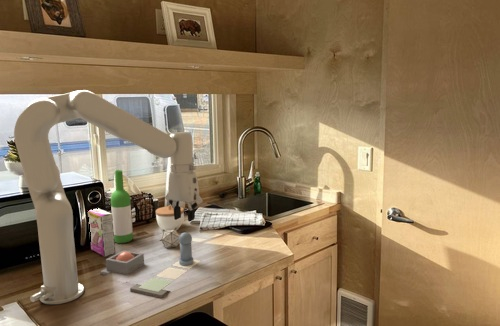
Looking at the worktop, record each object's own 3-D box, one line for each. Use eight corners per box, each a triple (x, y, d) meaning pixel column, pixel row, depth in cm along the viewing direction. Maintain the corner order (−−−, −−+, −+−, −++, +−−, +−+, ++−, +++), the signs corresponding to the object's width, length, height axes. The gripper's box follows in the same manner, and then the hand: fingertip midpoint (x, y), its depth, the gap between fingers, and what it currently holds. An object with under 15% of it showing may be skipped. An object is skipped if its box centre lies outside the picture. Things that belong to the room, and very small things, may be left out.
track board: (161, 298, 125) (161, 294, 125) (130, 291, 130) (130, 287, 130) (208, 263, 150) (208, 260, 150) (180, 258, 155) (180, 255, 155)
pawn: (188, 266, 145) (187, 235, 143) (176, 264, 147) (175, 234, 145) (196, 261, 149) (194, 231, 147) (184, 259, 151) (183, 229, 149)
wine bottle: (114, 245, 170) (109, 173, 165) (113, 239, 177) (107, 169, 172) (134, 242, 173) (129, 171, 168) (132, 236, 180) (127, 168, 175)
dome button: (126, 272, 142) (125, 256, 141) (113, 269, 144) (111, 254, 143) (138, 265, 147) (137, 250, 146) (124, 262, 149) (123, 248, 148)
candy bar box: (90, 250, 165) (86, 210, 162) (101, 246, 168) (98, 207, 166) (104, 257, 157) (100, 215, 154) (116, 253, 161) (113, 212, 158)
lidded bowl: (190, 228, 189) (189, 204, 187) (168, 235, 180) (167, 211, 178) (172, 222, 197) (171, 200, 196) (151, 229, 188) (149, 206, 186)
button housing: (128, 279, 138) (126, 265, 137) (100, 274, 143) (99, 260, 142) (150, 266, 149) (149, 252, 148) (124, 261, 153) (123, 248, 153)
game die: (174, 258, 164) (175, 244, 157) (155, 250, 165) (155, 236, 158) (184, 241, 171) (186, 227, 163) (165, 233, 172) (166, 219, 165)
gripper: (209, 168, 142) (211, 219, 145) (167, 165, 149) (170, 214, 152) (197, 172, 135) (199, 225, 138) (155, 168, 142) (158, 219, 145)
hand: (184, 218), depth 145 cm, fingers open, 4 cm apart
